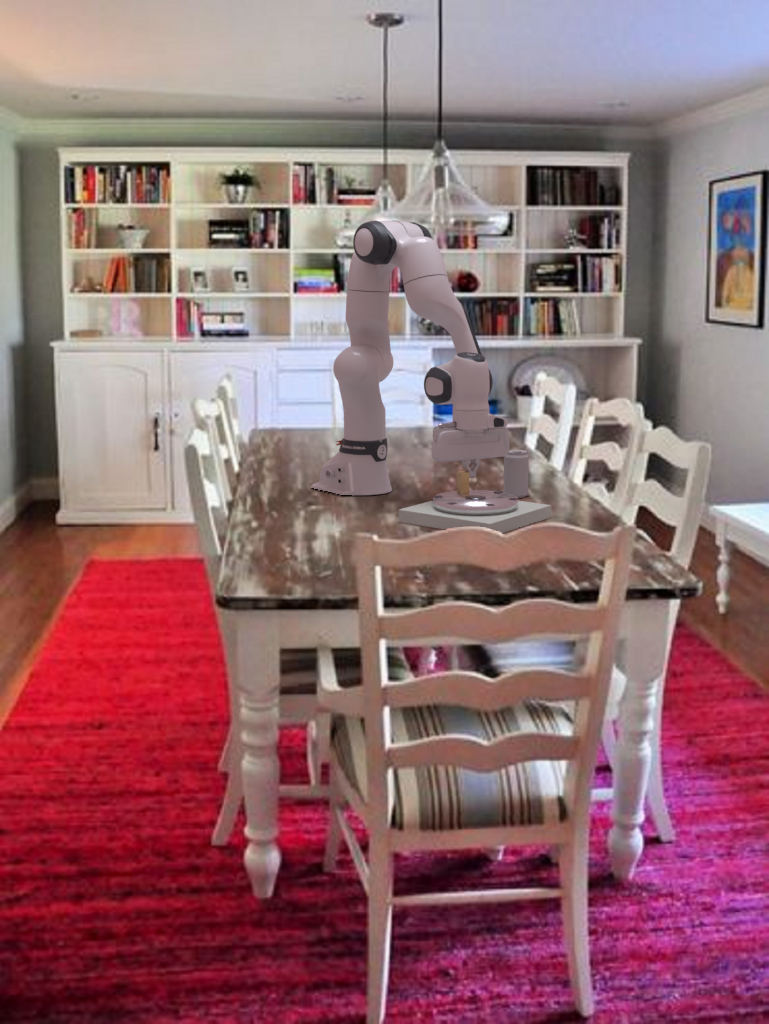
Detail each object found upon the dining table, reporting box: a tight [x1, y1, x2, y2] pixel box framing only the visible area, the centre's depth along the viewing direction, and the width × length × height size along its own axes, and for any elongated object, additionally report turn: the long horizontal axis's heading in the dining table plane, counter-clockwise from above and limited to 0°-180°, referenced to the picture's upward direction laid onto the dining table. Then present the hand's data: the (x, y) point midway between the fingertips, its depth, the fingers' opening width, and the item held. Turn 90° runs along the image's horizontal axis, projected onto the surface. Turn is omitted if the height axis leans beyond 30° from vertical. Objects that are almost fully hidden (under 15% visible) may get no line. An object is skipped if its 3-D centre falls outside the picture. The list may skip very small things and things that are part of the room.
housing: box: [398, 499, 552, 534], centre depth 287 cm, size 26×26×3 cm
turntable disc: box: [432, 469, 519, 515], centre depth 286 cm, size 20×20×7 cm
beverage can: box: [503, 449, 530, 499], centre depth 314 cm, size 6×6×12 cm
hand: (470, 477), depth 294 cm, fingers closed
